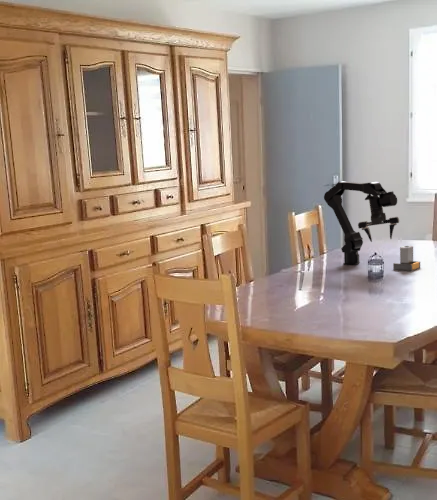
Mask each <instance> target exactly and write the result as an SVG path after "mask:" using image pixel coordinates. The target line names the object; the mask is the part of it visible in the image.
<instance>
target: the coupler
mask: <svg viewBox="0 0 437 500" xmlns="http://www.w3.org/2000/svg"><path fill="white" fill-rule="evenodd" d="M419 269H421V261H419V260H418V261H416V260H413V264H400V262H399V263H396V262H394V263H393V270H394V271H403V272H413V271H417V270H419Z"/></svg>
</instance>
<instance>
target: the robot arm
mask: <svg viewBox="0 0 437 500" xmlns="http://www.w3.org/2000/svg"><path fill="white" fill-rule="evenodd" d="M345 191H355V192H361V193H363V194H366V195H367V196H366V197H365V198H364V201H368V203H369V209H370V221H368V220H366V221H365V220H364V221H360V222H358V223H357V226H358V229H361V231H364V232H365V233H366V235H367V237H368V239H369V241H370V242H371V243H372V242H373V237H372V234H371V230H370V226H378V225H385V224H389V225H388V226H389V238H390V240H392V239H393V233H394V228H395V226H397V224H399V223H400V217H398V216H393V217H392V216H391V217H390V218H388V219H387V215H386V212H384V209H383V208H387V207H395V206H397V204H398V197H397V195H396V194H395V193H394V191H393V190H392V191H387V190H386V189H385V188H384V187H383V186H382V184H381V183H380V182H379V181H373V182H354V181H353V182H352V181H345V180H344V181H343V180H342V181H338V182H337V183H336V184H335V185H334V186H333V187H331V188H330V189H329V190H328V191H326V192H325V193H324V195H323V198H324V199H323V200H324V201H325V203H326V205H327V206H328V207H330V208H331V209H332V211H333V213H334V215H335V218H336V219H337V221H338V223H339V225H340V228H341V230H342V232H343V234H344V238H343V240H344V245H342V247H341V249H340V250H341V252H342V253H343V254H344V255H343V256H344V257H343V259H344V260H343V261H344V262H343V263H342V265H348V266H349V265H350V266H351V265H352V266H356V265H358V264H360V263H361V262H360V254H359V252H360V251H361V248H362V246H363V244H364V241H363V240H364V239H363V237H362V235H361V233H360V231H355V230H354V228H353V226H352V224H351V222H350V221H351V220H349V218H348V215H347V213H346V211H345V209H344V206H343V197H342V196H343V195H344V194H345Z"/></svg>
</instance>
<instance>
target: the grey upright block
mask: <svg viewBox="0 0 437 500" xmlns="http://www.w3.org/2000/svg"><path fill="white" fill-rule="evenodd" d="M399 252H400V253H399V256H400V257H399V261H400V262H399V264H413V261H414V246H413V245H403V246H401V247H400V248H399Z"/></svg>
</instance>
